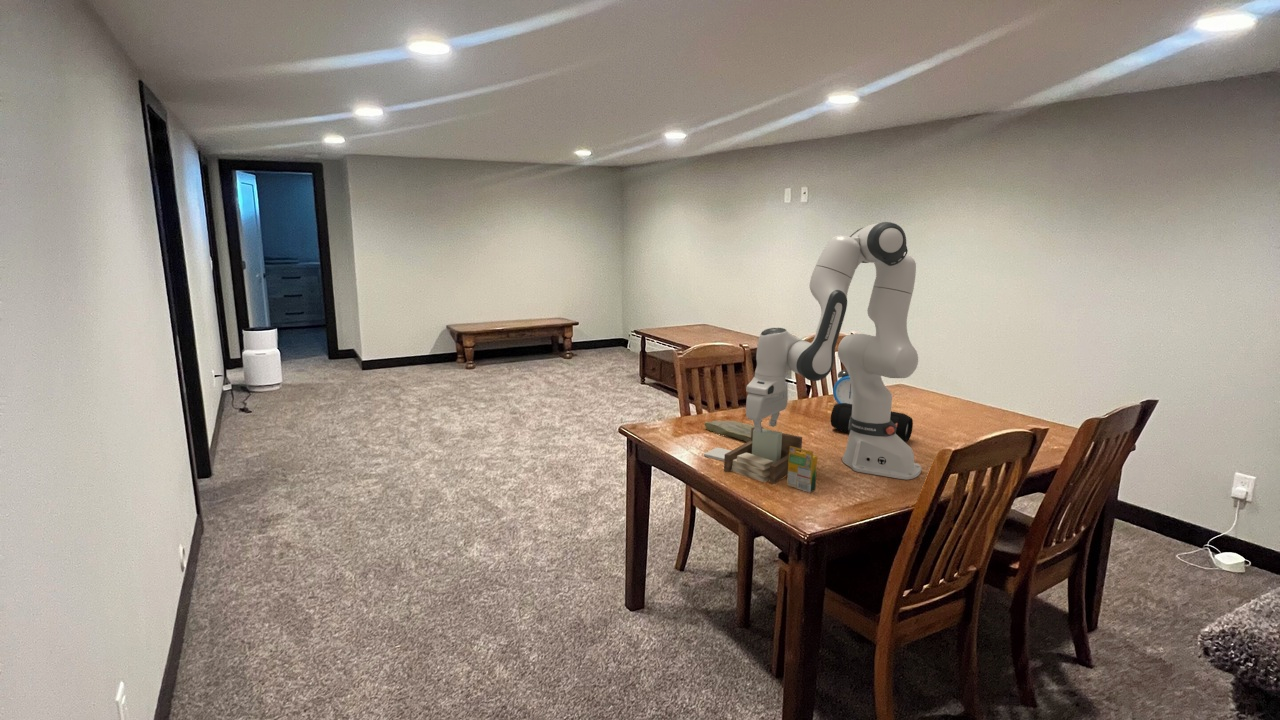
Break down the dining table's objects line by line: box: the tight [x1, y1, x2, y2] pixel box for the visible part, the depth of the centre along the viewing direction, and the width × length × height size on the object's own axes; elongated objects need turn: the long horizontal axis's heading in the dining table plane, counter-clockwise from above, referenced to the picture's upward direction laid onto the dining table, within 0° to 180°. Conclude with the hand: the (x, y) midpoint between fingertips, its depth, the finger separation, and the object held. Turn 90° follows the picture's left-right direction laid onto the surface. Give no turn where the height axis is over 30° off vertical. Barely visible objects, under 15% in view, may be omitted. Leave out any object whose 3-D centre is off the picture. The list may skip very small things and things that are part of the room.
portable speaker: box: [830, 403, 914, 443], centre depth 230 cm, size 26×10×10 cm, turn 53°
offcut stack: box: [731, 452, 773, 483], centre depth 193 cm, size 12×5×5 cm, turn 43°
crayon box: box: [786, 446, 818, 494], centre depth 183 cm, size 7×3×12 cm, turn 48°
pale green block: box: [752, 428, 783, 464], centre depth 199 cm, size 8×3×11 cm, turn 54°
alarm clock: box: [832, 369, 853, 404], centre depth 265 cm, size 13×6×15 cm, turn 61°
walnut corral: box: [723, 427, 803, 485], centre depth 197 cm, size 16×18×9 cm
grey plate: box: [703, 446, 732, 462], centre depth 208 cm, size 11×8×1 cm
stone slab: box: [703, 420, 755, 443], centre depth 228 cm, size 12×4×30 cm
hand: (765, 429), depth 197 cm, fingers open, 8 cm apart
